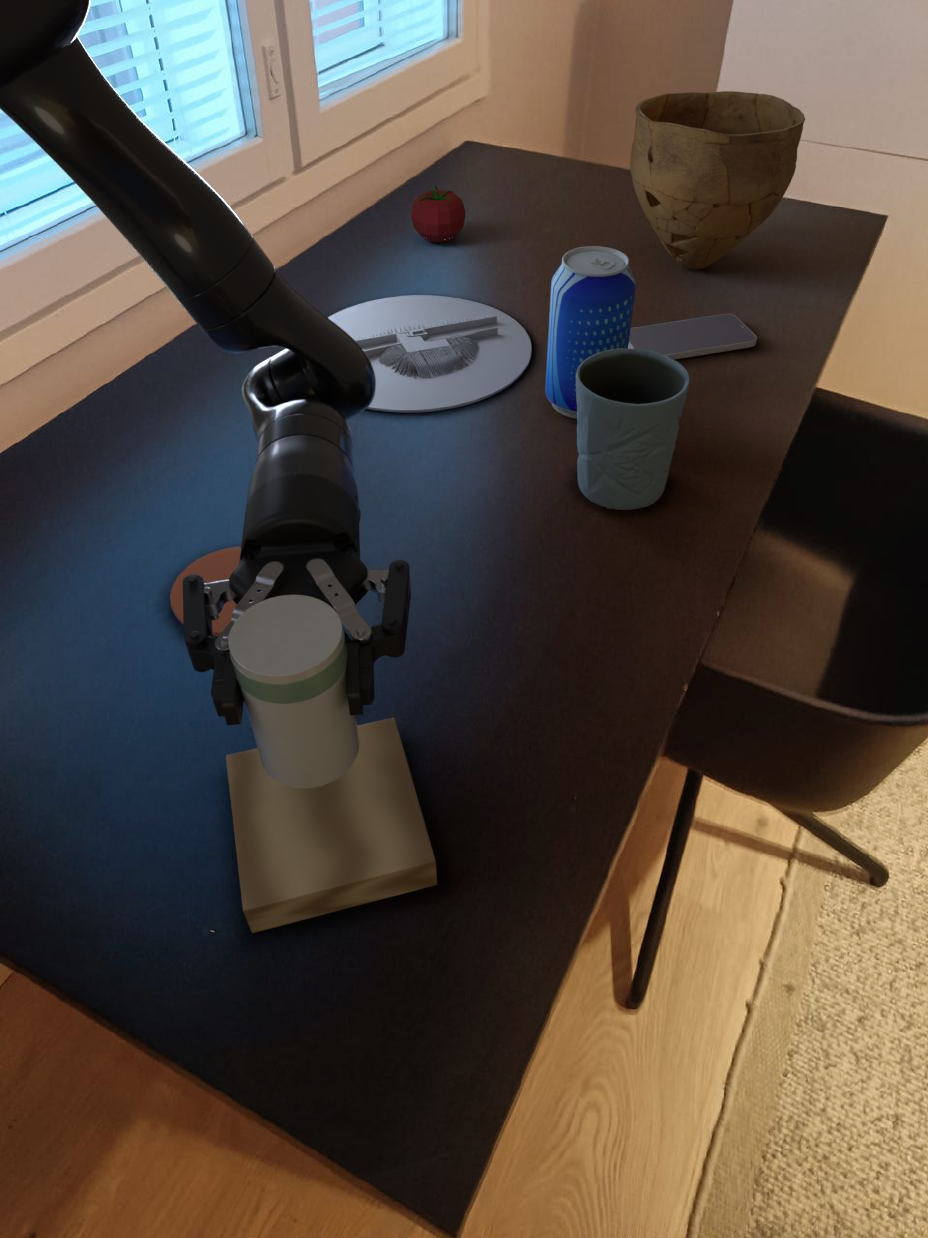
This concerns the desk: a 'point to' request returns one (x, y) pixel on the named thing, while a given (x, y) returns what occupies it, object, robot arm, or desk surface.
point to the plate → (436, 350)
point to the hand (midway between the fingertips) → (293, 710)
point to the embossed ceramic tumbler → (627, 425)
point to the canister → (296, 689)
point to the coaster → (211, 570)
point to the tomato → (438, 215)
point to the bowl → (712, 167)
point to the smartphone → (693, 336)
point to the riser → (329, 834)
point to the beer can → (586, 317)
